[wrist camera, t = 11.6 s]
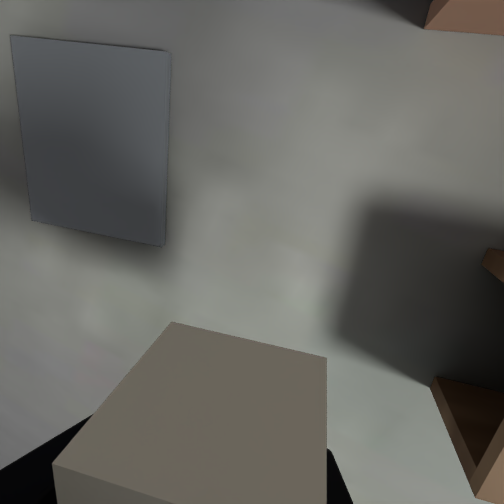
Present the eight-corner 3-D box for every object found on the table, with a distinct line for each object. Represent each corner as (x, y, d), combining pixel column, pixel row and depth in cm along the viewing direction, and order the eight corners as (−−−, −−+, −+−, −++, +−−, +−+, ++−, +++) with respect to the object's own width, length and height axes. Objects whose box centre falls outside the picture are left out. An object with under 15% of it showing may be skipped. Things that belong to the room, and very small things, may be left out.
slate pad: (18, 37, 14) (10, 35, 14) (171, 54, 13) (166, 51, 12) (38, 218, 17) (31, 220, 16) (164, 244, 16) (160, 246, 15)
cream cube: (166, 320, 8) (44, 460, 5) (326, 357, 8) (326, 553, 4) (163, 433, 10) (66, 608, 6) (298, 472, 9) (280, 695, 6)
